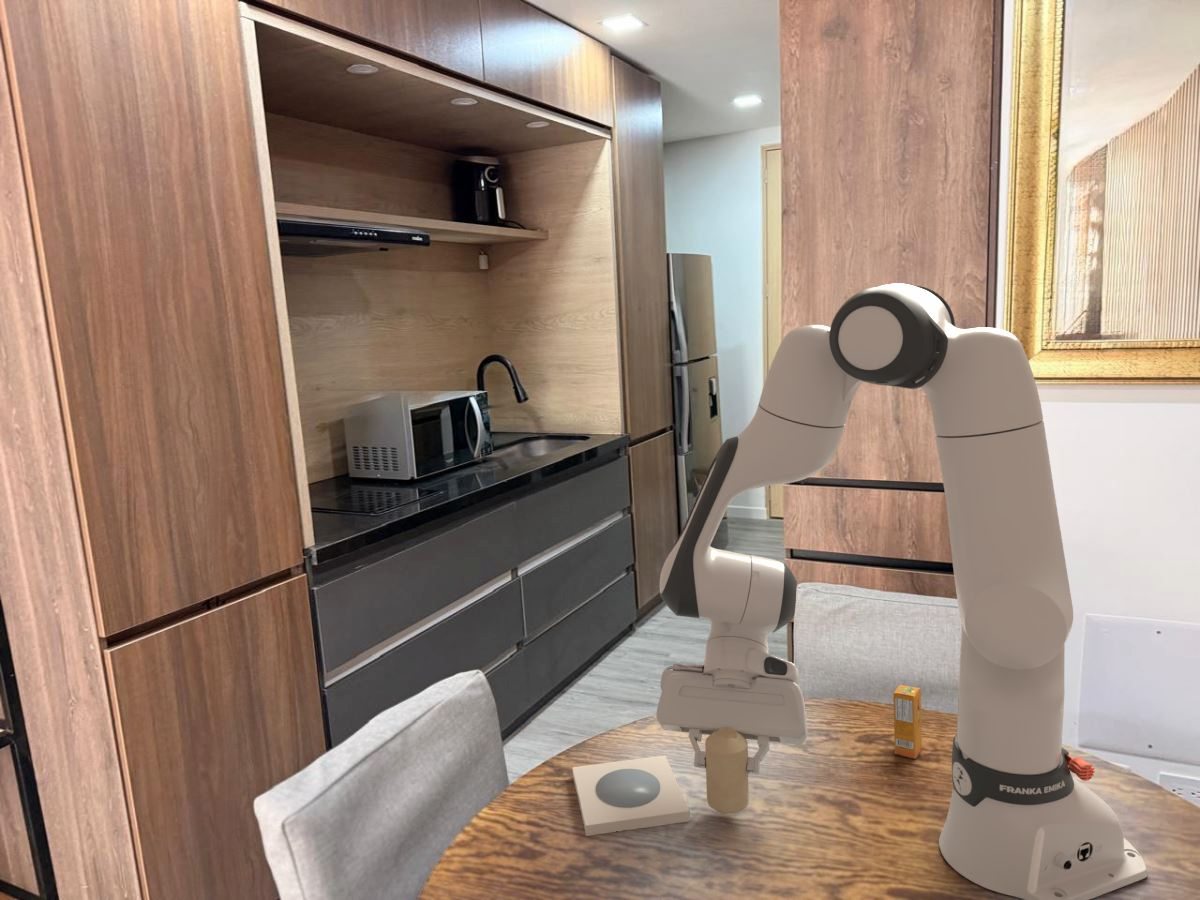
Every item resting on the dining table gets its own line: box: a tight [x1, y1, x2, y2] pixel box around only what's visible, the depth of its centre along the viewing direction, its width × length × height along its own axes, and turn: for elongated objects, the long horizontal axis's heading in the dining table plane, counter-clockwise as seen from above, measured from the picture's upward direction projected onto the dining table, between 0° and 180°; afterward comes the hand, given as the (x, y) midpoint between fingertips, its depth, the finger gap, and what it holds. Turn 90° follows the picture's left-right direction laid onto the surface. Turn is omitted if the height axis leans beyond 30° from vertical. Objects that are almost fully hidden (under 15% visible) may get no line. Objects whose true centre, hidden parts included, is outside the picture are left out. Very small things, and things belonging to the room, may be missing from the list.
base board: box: [572, 754, 691, 837], centre depth 113 cm, size 14×14×2 cm
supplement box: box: [892, 684, 923, 760], centre depth 121 cm, size 3×3×10 cm
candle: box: [704, 727, 750, 814], centre depth 107 cm, size 6×6×10 cm
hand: (726, 770), depth 107 cm, fingers closed on candle, 5 cm apart
